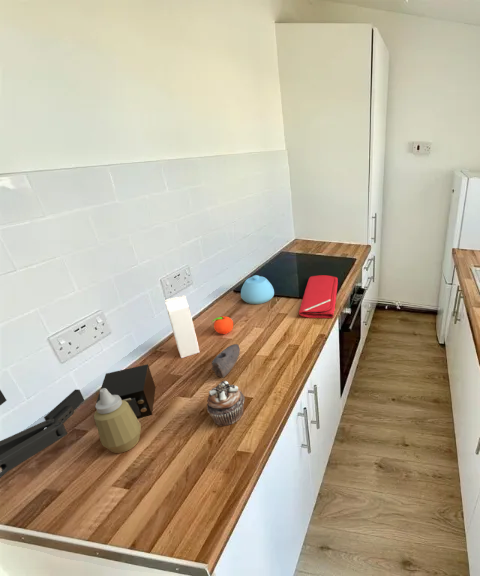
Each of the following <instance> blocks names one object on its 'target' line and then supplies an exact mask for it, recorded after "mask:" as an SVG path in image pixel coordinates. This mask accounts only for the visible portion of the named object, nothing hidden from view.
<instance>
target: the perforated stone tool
mask: <svg viewBox="0 0 480 576" xmlns="http://www.w3.org/2000/svg"><path fill="white" fill-rule="evenodd" d="M240 351H241V349H240V345H239V344H237V343H234V344H231V345H229V346H227V347H226V348H224V349H223V350H222V351H221V352H219V353H218V354H217V355H216V356H215V358H214V359H213V360H212V361H211V366H212V367H211V370H212V372H214V374H215V376H217V377H219V378H221V379H225V377H226V376H227V375H228V374H229V373H231V371H232V369H233V368H234V366H235V365H236V362H237V361H238V359H239V356H240Z"/></svg>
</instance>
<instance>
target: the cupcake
mask: <svg viewBox="0 0 480 576" xmlns="http://www.w3.org/2000/svg"><path fill="white" fill-rule="evenodd" d="M245 400H246V399H245V395H244V393H243V392H242V391H241V389H239V386H237V385H235V384H230V383H229V382H228V381H227V380H225V379H224V380H222V381H221V382H220V383H218V384H217V385H216V386H215V387H212V388H211V389H210V390H209V391H208V397H207V404H206V408H207V409H206V410H207V413H208V414H209V415H210V417H211V419H212V420H213V422H214V424H215V425H218V426H220V427H223V426H224V427H226V426H231V425H233V424H235V423H237V422H238V421H240V419H241V418H242V416H243V415H244V406H245Z"/></svg>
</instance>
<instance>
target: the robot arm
mask: <svg viewBox="0 0 480 576" xmlns="http://www.w3.org/2000/svg"><path fill="white" fill-rule="evenodd" d="M7 400H8V399H7V398H6V397H5V395H4V393H3V392H2V390H1V389H0V406H2V405H3V404H4V403H6V402H7ZM85 401H86V400H85V397H84V396H83V393H82V392H81V390H80V389H74V390H73V391H71V392H70V393H69V394H68V395H67V396H66V397H65V398H64V399H63V400H62V401H61V402H60V403H58V404H57V405H56V406H55V407H53V409H52V410H51V411H49V412H48V413H47V414H46V415H44V417H43V419H44V420H43V421H41V422H39V423H37V424H35V425H32V426H30V427H28V428H26V429H23V430H21V431H19V432H17V433H15V434H12V435H10V436H8V437H5V438H3V439H2V440H0V479H1V478H3V477H4V476H5V475H6V474H7V473H8V472H9V471H11V470H13V469H14V468H16V467H18V466H19V465H21V464H22V463H24V462H26V461H27V460H29V459H30V458H32V457H34V456H35V455H37V454H39V453H40V452H42V451H43V450H45V449H46V448H48V447H50V446H52V445H53V444H55V443H56V442H58V441H59V440H61V439H62V438H64V437H66V436H67V435H68V431H67V429H66V427H65V425H64V424H65V422H67V421H68V420H69V419H70V418H71V417H72V416H73V415H74V413H75V411H76V409H78V408H79V407H80V405H82V404H83V403H84V402H85Z"/></svg>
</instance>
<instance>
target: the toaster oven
mask: <svg viewBox="0 0 480 576" xmlns="http://www.w3.org/2000/svg"><path fill="white" fill-rule="evenodd" d="M102 388H106V389H107V390H108V391H109V392H110V394H111V395H119V396H120V398H121V400H125V401H126V402H127V403H128V404H129V406H130V407H131V409H132V411H133V412H134V414H135V416H136V417H137V419H138V420H139V419H141V418H145V417H148V416H152V415H153V410H154V403H155V395H156V388H157V387H156V385H155V381H154V378H153V374H152V372H151V369H150V366H149V364H143V365H139V366H134V367H133V366H132V367H129V368H125V369H120V370H116V371H115V370H114V371H112V372H106V373H105V375H104V378H103V381H102V384H101V387H100V390H101V389H102ZM99 400H100V392H99V393H98V396H97V399H96V402H95V404H97V402H98V401H99Z"/></svg>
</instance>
